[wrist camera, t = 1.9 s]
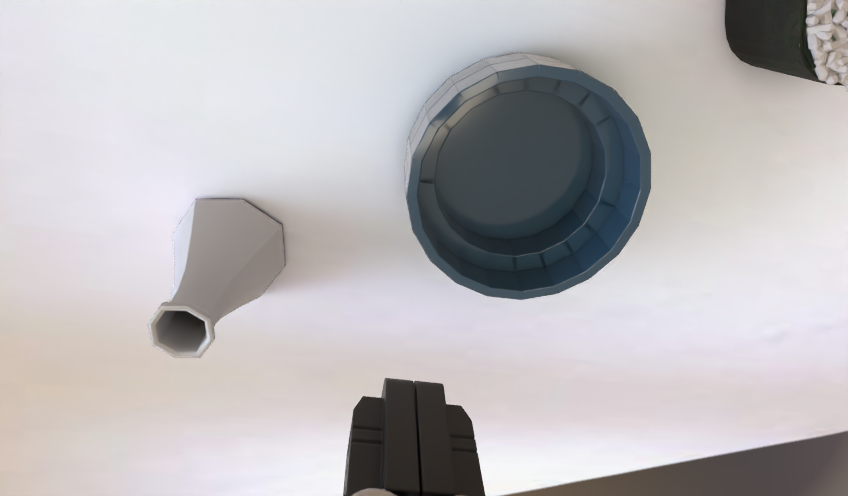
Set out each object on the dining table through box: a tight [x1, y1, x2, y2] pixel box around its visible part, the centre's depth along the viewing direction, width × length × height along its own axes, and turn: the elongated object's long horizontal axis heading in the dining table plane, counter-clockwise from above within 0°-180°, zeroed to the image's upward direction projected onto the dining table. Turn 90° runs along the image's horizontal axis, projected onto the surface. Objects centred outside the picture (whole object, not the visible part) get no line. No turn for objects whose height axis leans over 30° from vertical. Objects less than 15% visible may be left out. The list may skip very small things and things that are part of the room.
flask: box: [148, 199, 285, 358], centre depth 33 cm, size 7×7×10 cm
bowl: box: [404, 53, 651, 300], centre depth 34 cm, size 13×13×6 cm
